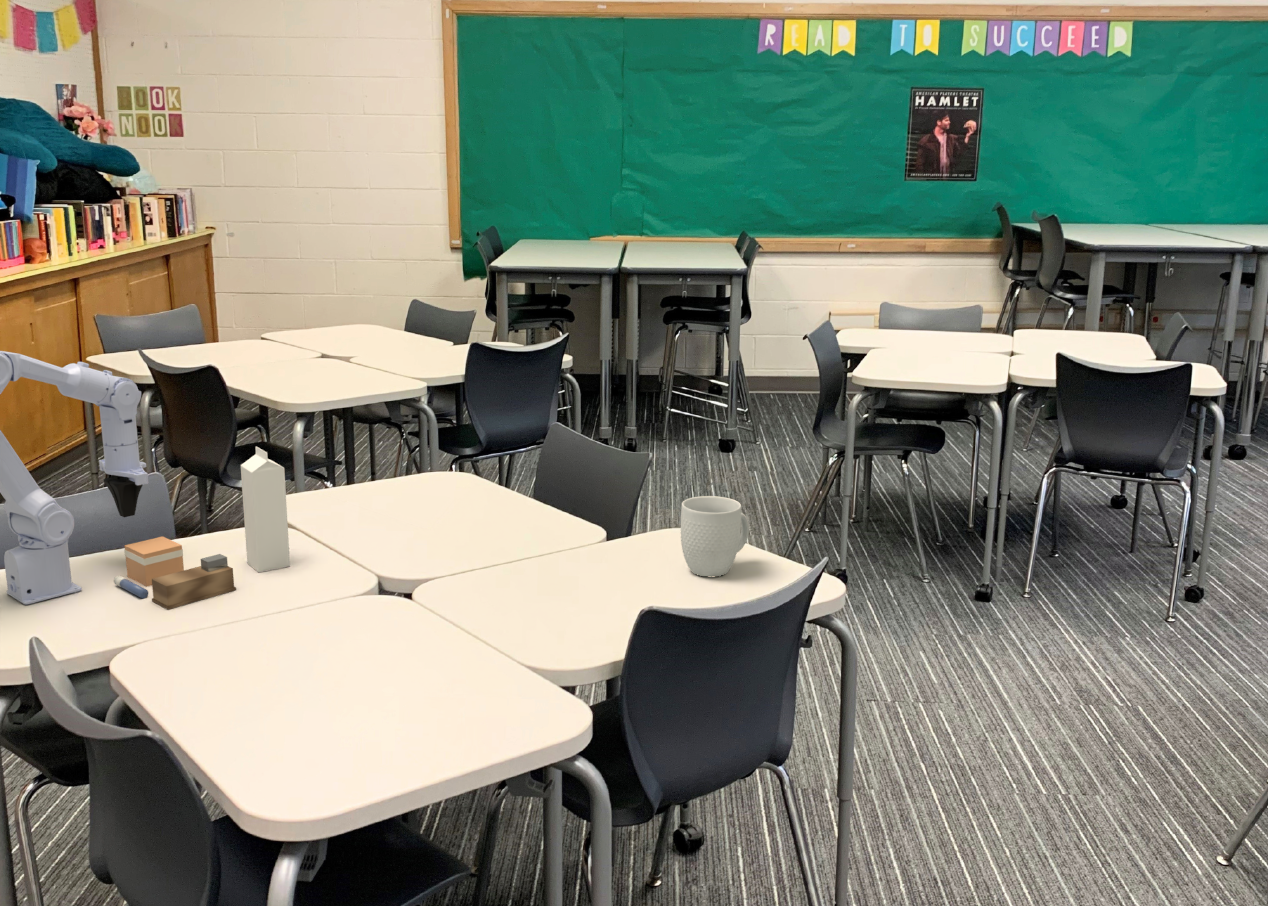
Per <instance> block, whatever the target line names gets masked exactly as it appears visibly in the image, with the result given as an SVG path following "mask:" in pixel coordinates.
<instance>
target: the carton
mask: <svg viewBox="0 0 1268 906" xmlns="http://www.w3.org/2000/svg"><path fill="white" fill-rule="evenodd" d="M183 556H184V550H183V545H182V544H180V543H179V542H175V541H174V540H172V539H170V538H167V537H165V536H164V535H163V536H158V537H155V538H150V539H146V540H142V541H138V542H133V543H128V544H125V545H124V557H125V565H126V573H127V575H126V576H127V578H129V579H131V580H133V581H135V582H137V583H139V584H140V585H142V586H144V587H151V586H152V579H154V578H157V577H161V576H165V575H169V574H172V573H176V572H180V571H184V570H185V568H184V557H183Z"/></svg>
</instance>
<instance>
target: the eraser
mask: <svg viewBox="0 0 1268 906" xmlns="http://www.w3.org/2000/svg"><path fill="white" fill-rule="evenodd" d="M200 566H201V569H203V570H205V571H207V572H211V571H214V570H218V569H222V568H226V567H228V566H229V565H228V556H226V555H224V554H221V553H218V554H214V555H210V556H207V557H202V558H200Z"/></svg>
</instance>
